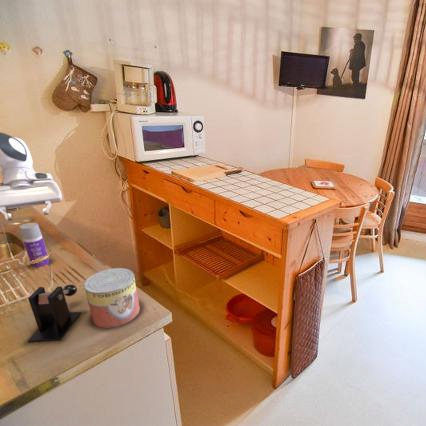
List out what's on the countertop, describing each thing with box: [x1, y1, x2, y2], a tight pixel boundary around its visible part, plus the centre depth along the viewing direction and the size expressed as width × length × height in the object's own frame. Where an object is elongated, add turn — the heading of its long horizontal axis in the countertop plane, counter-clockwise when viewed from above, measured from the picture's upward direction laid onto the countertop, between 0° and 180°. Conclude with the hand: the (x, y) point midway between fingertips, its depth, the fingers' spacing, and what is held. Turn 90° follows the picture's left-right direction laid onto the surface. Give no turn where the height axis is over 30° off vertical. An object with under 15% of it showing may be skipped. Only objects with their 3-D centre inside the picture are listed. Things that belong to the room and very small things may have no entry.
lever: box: [38, 283, 78, 304], centre depth 83 cm, size 12×3×3 cm, turn 9°
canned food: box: [83, 267, 141, 329], centre depth 86 cm, size 11×11×12 cm
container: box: [19, 222, 51, 268], centre depth 104 cm, size 5×5×15 cm
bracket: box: [27, 285, 82, 343], centre depth 80 cm, size 10×7×12 cm
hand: (28, 217), depth 107 cm, fingers open, 8 cm apart
